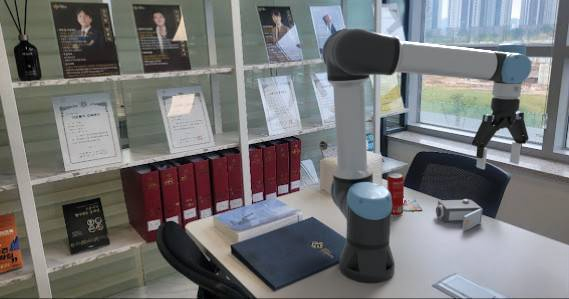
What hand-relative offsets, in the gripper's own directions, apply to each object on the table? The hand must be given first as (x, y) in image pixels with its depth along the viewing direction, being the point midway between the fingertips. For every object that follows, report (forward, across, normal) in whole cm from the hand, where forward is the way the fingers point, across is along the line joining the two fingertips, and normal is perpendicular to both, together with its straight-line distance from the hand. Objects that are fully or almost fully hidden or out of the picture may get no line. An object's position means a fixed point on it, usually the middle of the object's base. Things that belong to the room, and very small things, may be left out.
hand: (497, 165), depth 133 cm
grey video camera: (+24, 0, +14) cm, 27 cm away
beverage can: (+24, -18, +26) cm, 40 cm away
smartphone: (+24, -8, +32) cm, 41 cm away
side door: (+23, -1, +6) cm, 24 cm away
